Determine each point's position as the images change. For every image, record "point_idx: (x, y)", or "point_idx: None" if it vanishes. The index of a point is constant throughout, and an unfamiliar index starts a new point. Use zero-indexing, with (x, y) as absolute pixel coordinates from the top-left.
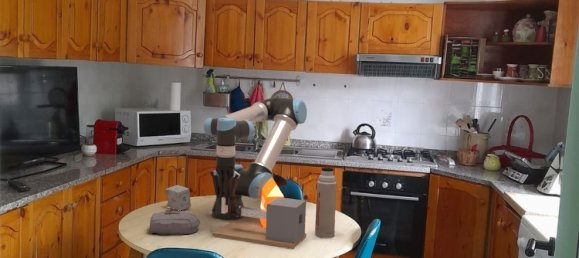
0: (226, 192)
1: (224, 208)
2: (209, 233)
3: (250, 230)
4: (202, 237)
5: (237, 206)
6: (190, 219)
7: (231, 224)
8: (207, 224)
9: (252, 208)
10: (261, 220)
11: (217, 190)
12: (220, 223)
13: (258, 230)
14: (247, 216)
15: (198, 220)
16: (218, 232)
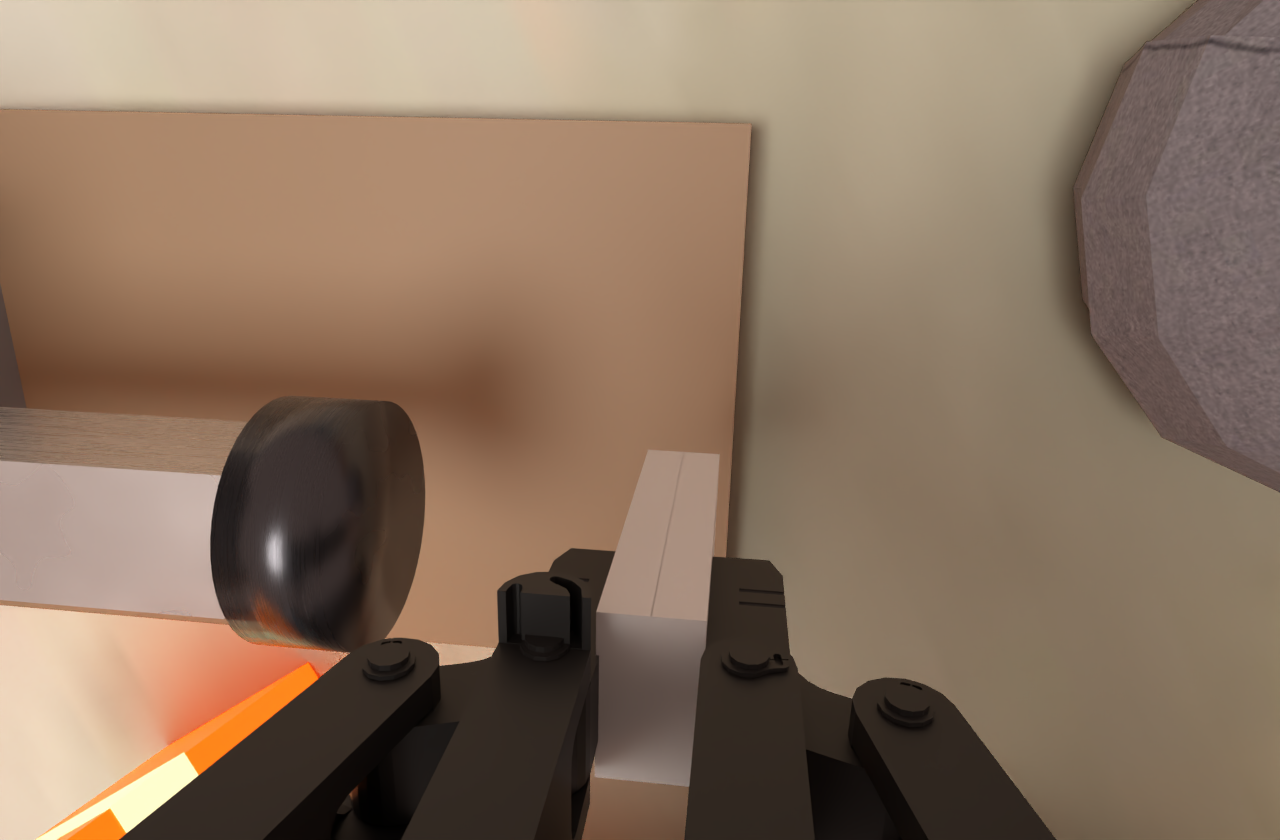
0: (510, 728)
1: (642, 489)
2: (852, 238)
3: None
4: (875, 14)
5: (297, 499)
6: (1271, 83)
7: None
8: (1039, 592)
9: (43, 563)
10: None
11: (902, 793)
12: None
13: None
14: (180, 419)
15: (1130, 307)
16: (676, 179)
